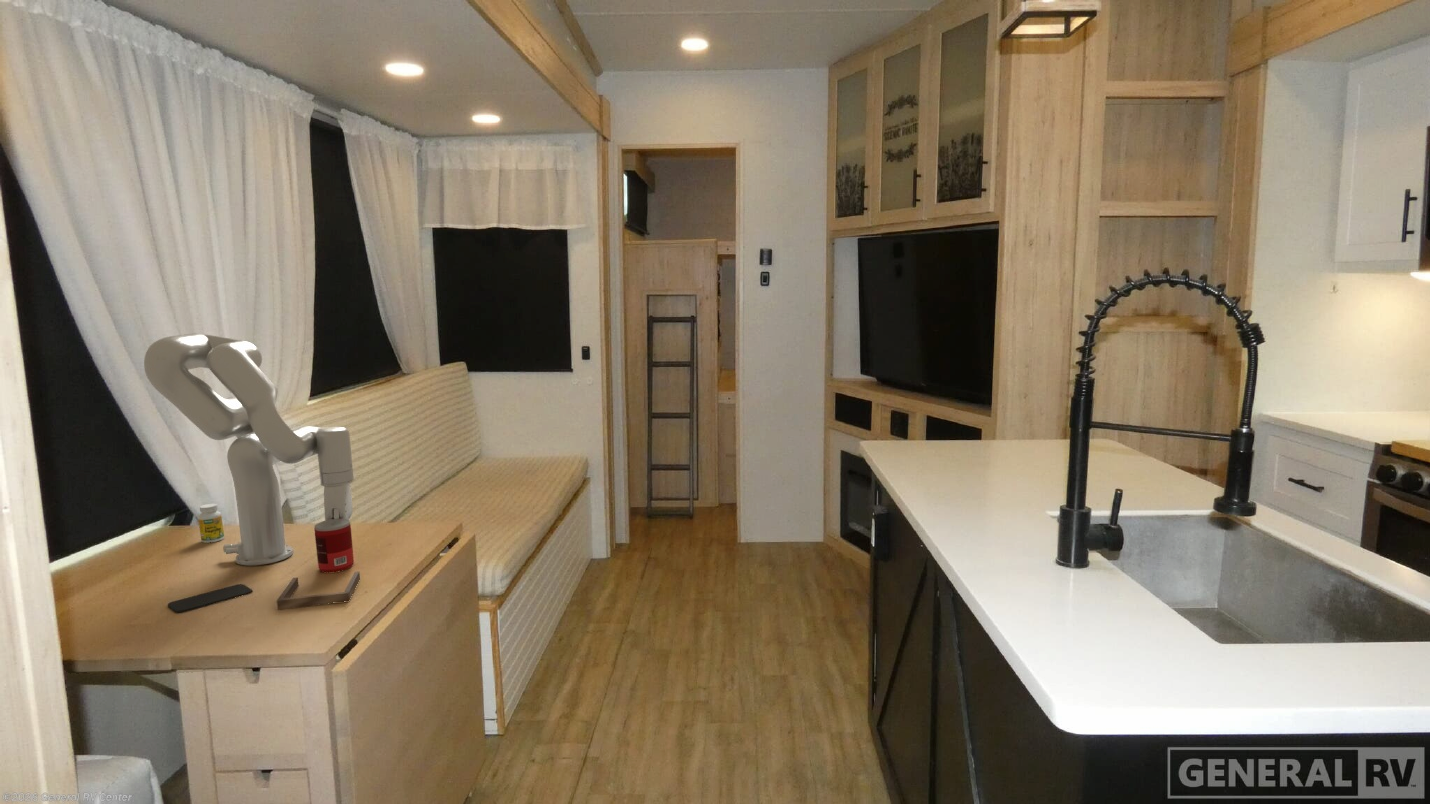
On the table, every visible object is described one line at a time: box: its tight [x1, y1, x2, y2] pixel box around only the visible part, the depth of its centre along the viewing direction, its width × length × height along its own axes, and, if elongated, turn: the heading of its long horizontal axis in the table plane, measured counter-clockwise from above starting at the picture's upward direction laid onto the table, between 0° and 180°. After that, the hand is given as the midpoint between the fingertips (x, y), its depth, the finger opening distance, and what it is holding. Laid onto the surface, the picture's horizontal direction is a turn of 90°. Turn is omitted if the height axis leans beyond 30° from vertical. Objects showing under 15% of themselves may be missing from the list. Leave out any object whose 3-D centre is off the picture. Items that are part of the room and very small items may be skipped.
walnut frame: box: [276, 571, 361, 611], centre depth 180 cm, size 14×14×2 cm
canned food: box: [313, 519, 355, 574], centre depth 196 cm, size 8×8×11 cm
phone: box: [167, 583, 253, 614], centre depth 179 cm, size 7×1×15 cm
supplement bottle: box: [197, 503, 225, 544], centre depth 219 cm, size 5×5×10 cm
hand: (343, 547), depth 206 cm, fingers closed
